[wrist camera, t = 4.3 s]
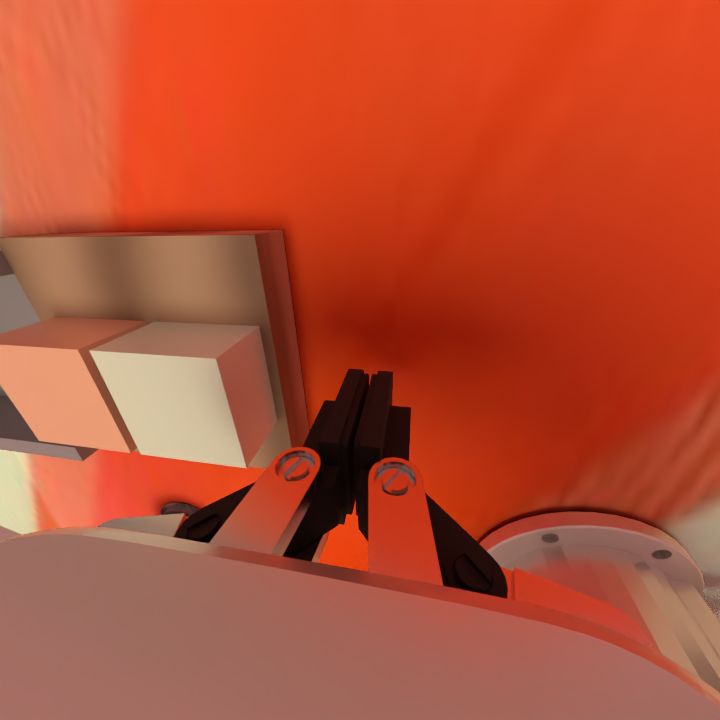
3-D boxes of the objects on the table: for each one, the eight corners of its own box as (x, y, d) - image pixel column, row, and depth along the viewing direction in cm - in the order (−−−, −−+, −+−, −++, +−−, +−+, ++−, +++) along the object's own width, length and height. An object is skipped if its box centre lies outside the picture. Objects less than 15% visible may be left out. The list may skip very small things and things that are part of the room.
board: (282, 229, 13) (254, 234, 11) (310, 440, 18) (295, 472, 16) (57, 233, 15) (-6, 237, 13) (143, 422, 20) (110, 448, 18)
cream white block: (259, 326, 12) (216, 358, 10) (277, 420, 15) (246, 468, 12) (155, 321, 13) (89, 350, 11) (188, 412, 15) (140, 454, 13)
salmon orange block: (145, 321, 13) (77, 349, 11) (179, 411, 16) (130, 452, 13) (54, 316, 14) (-29, 342, 11) (99, 403, 16) (39, 440, 14)
